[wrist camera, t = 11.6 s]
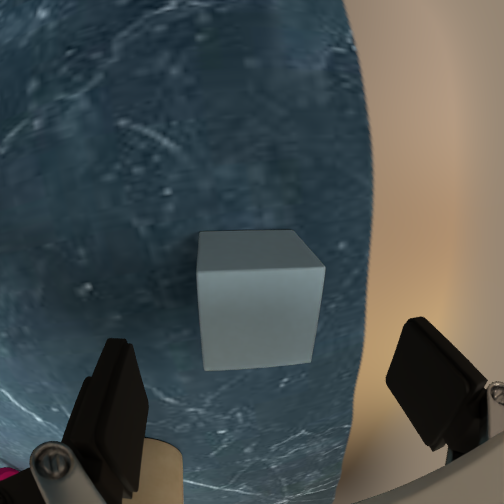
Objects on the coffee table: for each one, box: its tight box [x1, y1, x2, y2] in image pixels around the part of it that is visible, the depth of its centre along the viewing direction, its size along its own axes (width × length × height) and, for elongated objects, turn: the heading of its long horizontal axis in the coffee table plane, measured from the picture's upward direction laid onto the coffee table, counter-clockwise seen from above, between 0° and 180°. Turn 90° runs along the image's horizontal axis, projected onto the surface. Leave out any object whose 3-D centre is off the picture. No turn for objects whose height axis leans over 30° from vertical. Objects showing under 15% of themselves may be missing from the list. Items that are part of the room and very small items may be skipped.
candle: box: [122, 438, 183, 504], centre depth 15 cm, size 6×6×10 cm
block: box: [196, 230, 326, 371], centre depth 13 cm, size 4×4×4 cm
